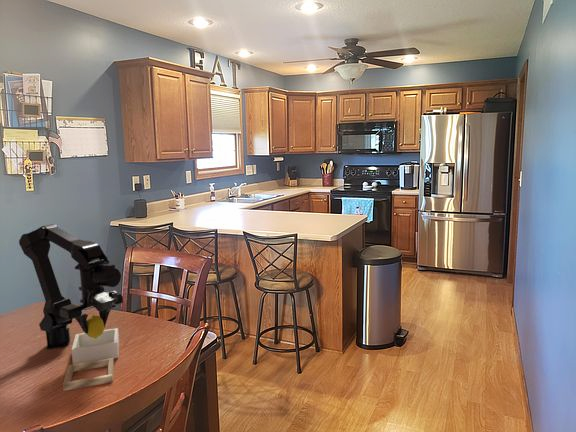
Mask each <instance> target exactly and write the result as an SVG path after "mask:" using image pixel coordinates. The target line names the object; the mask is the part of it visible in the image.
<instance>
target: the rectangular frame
mask: <svg viewBox="0 0 576 432" xmlns="http://www.w3.org/2000/svg"><path fill="white" fill-rule="evenodd" d="M114 360H115V359H113V358H107V359H101V360H95V361H89V362H83V363H77V364H73V363H72V364H68V366H67V370H66V373H65V376H64V380H63V384H62V386H63V389H62V390H63V392H65V391H71V390H76V389H80V388H86V387H91V386H97V385H104V384H109V383H113V381H114V380H113V379H114V365H115V364H114V363H115V361H114ZM104 367H107V374H105V375H99V376H94V377H89V378H82V379H77V380H72V378H73V373H74V372H79V371H86V370H90V369H96V368H97V369H99V368H104Z"/></svg>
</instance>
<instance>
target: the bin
mask: <svg viewBox="0 0 576 432" xmlns="http://www.w3.org/2000/svg"><path fill="white" fill-rule="evenodd" d="M72 343H73V344H72V347H71V360H72V364H77V363H83V362H89V361H95V360H101V359H107V358H113V359H114V360H115V359H119V355H120V354H119V353H120V336H119V327H115V328H109V329H108V328H107V329H104V331H103V333H102V334H101V335H100V336H99V337H98V338H97V339H94V338H92V337H89V336H88V335H87V334H85V333H84V332H82V333H76V334H75V336H74V340H73V342H72Z"/></svg>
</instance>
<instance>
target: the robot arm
mask: <svg viewBox="0 0 576 432" xmlns="http://www.w3.org/2000/svg"><path fill="white" fill-rule="evenodd" d="M51 243H52V244H55V245H56V246H58V247H60V248H62V249H63V250H65V251H67V252H68V253H70V257H71V259H73V260H74V261H75V262H77V264H76V265H75V266H74V270H79V277H80V286H78V290H79V291H80V292H81V299H79V301H80V305H77V304H73V303H72V300H71V299H70V298H66V297H64V296H63V295H62V293H61V289H60V286H59V284H58V279H57V278H56V276H55V272H54V269H53V266H52V263H51V259H50V257H49V253H50V251H51V250H50V249H51ZM18 244H19V247H20V248H21V250H22V252H23V254H24V255H25V256H26V257H27V258H29V259H30V260H31V262H32V264H33V267H34V271H35V273H36V277H37V280H38V283H39V285H40V288H41V291H42V295H43V298H44V300H45V302H44V305H43V318H42V319H41V321H40V322H39V324H38V325H39V326H38V327H39V329H40V331H42V332H45V336H46V347H45V348H46V350H47V349H48V350H49V349H54V348H55V349H56V348H62V347H67V346H69V343H70V342H71V329H70V327H68V325H72V323H73V320H74V319H75V320H76V322H77V323H78V324H79V326H80V327H81V329H82V332H83V333H85V334H88V327H87V320H88V318H89V314H87V313H86V311H87V310H90V309H93V308H94V309H96V311H97V312H98V313H99V314H98V316H99V317H100V318H102V320H103V323H104V329H105V328H106V324H107V321H108V318H109V314H110V312H111V311H112V310H113V309H114V308H116V306H117V305H119V304H122V303H124V296H123V295H122V293H119V292H117V290H112V291H108V292H105V288H104V287H108V288H109V287H111V288H115V287H117V286H118V285H119V283H120V282H121V279H122V274H121V272H120V270H119V269H117V268H116V264H113V263H110V260H109V259H108V256H106V254H105V253H104V250H103V249H102V248H101V245H100V244H99V243H97V242H94V241H90V240H84V239H79V238H77V237H76V236H74V235H73V234H70V233H68V231H65V230H64V229H61V228H59V227H58V226H57V224H46V225H42V226H40V227H38V228H37V229H34V230H33V231H30V232H28V233H23V234H21V236H20V238H19V239H18Z"/></svg>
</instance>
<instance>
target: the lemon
mask: <svg viewBox="0 0 576 432" xmlns="http://www.w3.org/2000/svg"><path fill="white" fill-rule="evenodd" d="M87 327H88V334H87V335H88V336H89V337H92V338H94V339H97V338H98V337H99V336H100V335H101V334H102V333H103V331H104V330H105V328H104V323H103V320H102V318H100V315H95V314H93V315H91V316H89V317H88V318H87Z"/></svg>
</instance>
